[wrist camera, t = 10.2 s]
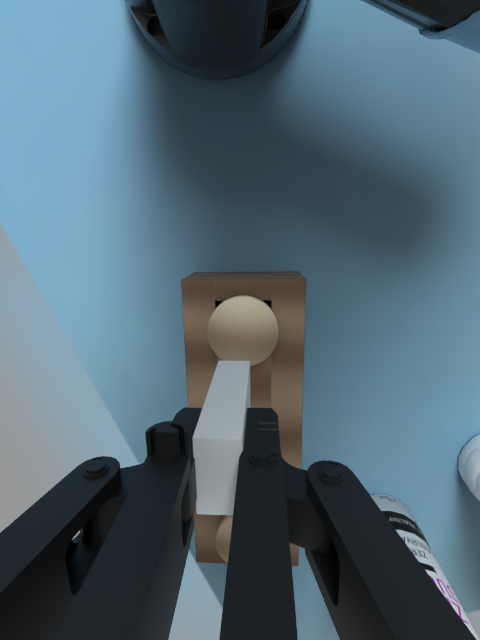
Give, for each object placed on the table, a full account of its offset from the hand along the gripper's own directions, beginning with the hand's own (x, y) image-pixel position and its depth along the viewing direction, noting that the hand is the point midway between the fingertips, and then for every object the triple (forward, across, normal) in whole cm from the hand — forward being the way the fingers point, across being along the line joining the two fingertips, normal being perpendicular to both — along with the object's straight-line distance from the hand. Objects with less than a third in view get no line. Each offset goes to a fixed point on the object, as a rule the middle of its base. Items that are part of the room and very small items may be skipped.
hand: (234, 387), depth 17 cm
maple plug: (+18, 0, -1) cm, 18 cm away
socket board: (+19, 0, -11) cm, 21 cm away
